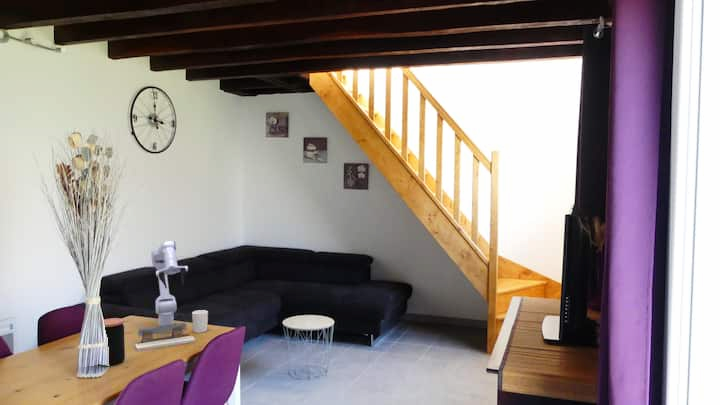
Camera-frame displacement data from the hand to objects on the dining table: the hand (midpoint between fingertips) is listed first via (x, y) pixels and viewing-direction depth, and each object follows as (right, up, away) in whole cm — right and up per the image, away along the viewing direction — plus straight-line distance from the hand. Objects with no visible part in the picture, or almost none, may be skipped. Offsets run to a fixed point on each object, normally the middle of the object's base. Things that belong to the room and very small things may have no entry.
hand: (174, 285), depth 251 cm
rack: (-9, -28, +8) cm, 31 cm away
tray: (-5, -28, +2) cm, 29 cm away
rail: (-9, -24, +8) cm, 27 cm away
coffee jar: (-19, -30, -23) cm, 42 cm away
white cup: (+5, -28, +24) cm, 37 cm away
